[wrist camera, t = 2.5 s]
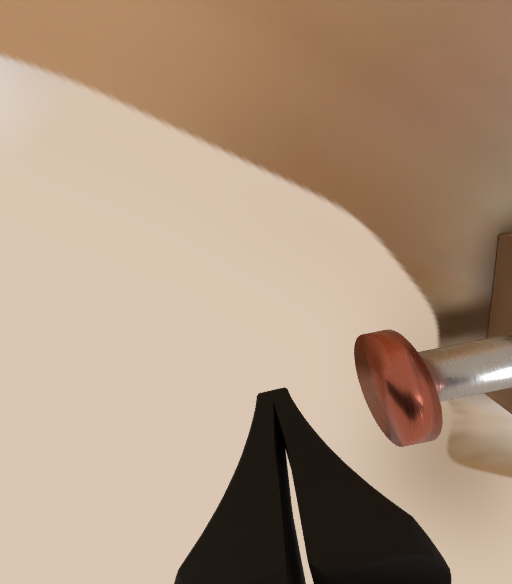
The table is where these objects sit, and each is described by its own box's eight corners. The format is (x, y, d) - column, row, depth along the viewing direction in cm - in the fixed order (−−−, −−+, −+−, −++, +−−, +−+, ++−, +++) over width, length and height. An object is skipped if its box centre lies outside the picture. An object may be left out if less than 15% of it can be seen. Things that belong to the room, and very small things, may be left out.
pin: (584, 271, 13) (767, 304, 9) (565, 350, 15) (713, 414, 10) (351, 318, 13) (410, 376, 9) (357, 392, 15) (410, 475, 10)
